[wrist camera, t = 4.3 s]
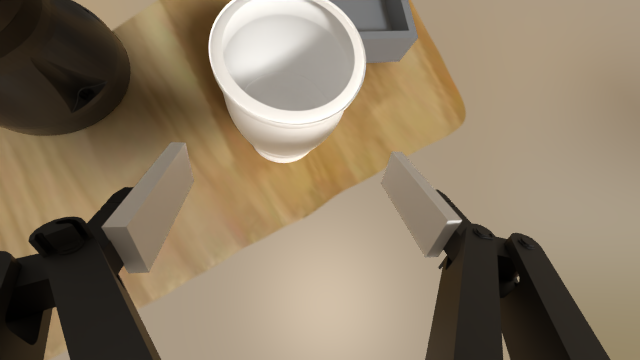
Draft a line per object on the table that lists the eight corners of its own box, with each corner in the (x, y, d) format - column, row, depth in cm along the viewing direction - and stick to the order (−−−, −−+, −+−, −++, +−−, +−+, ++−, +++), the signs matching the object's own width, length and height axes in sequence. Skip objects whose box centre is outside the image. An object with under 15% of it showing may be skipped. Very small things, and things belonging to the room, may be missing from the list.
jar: (305, 85, 32) (331, -29, 17) (335, 154, 31) (390, 97, 16) (227, 108, 29) (181, -2, 15) (258, 184, 28) (242, 147, 14)
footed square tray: (288, 74, 31) (291, 41, 26) (269, -28, 33) (268, -80, 28) (394, 67, 35) (418, 37, 29) (371, -25, 37) (389, -70, 31)
